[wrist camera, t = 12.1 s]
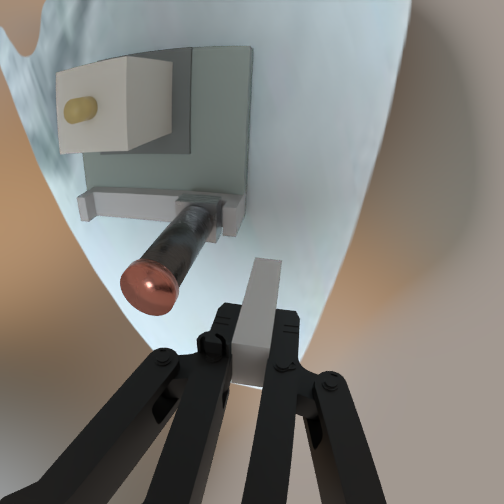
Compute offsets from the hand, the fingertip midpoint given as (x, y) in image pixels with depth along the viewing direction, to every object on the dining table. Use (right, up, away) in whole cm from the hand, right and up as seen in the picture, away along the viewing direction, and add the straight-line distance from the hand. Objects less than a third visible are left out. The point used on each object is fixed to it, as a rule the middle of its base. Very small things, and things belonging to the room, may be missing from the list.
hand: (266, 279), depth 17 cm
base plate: (-9, +12, +7) cm, 17 cm away
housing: (-10, +14, +4) cm, 18 cm away
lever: (-5, +5, +7) cm, 10 cm away
